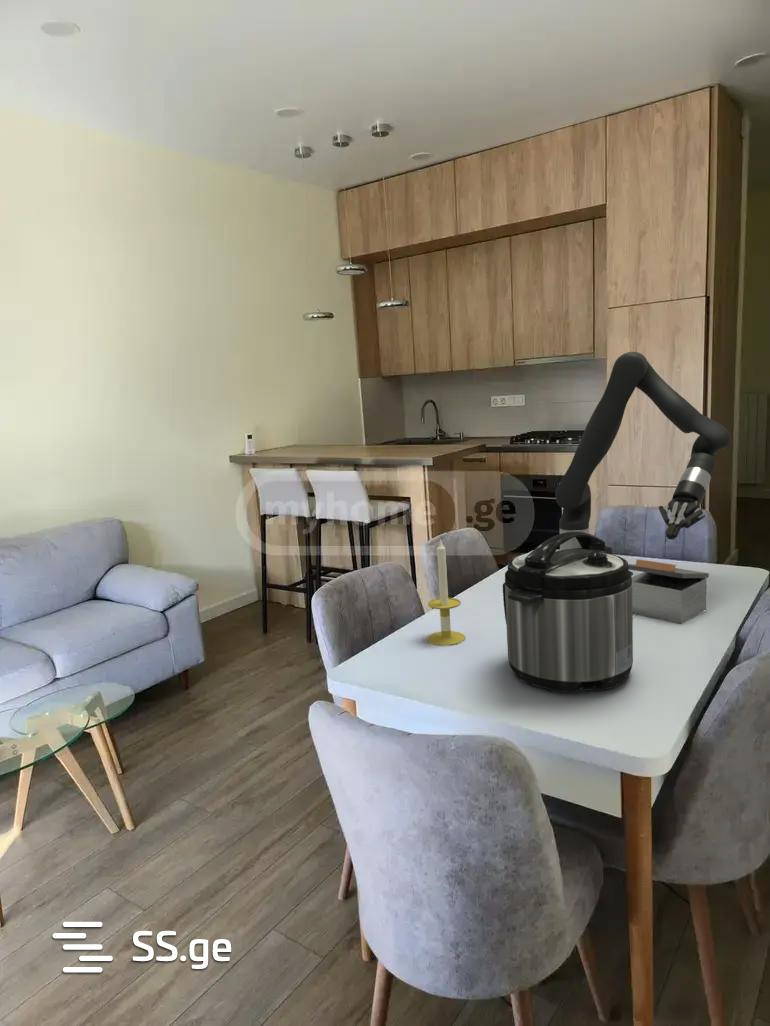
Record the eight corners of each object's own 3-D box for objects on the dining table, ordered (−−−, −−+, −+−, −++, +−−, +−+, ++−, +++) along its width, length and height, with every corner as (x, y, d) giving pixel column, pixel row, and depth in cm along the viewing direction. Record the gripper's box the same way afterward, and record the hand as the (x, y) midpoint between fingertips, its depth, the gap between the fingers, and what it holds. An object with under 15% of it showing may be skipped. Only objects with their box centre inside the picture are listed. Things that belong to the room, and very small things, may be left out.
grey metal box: (624, 611, 186) (624, 580, 185) (650, 599, 195) (650, 569, 194) (681, 623, 174) (681, 590, 173) (706, 610, 183) (706, 578, 181)
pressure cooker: (606, 641, 166) (604, 515, 161) (664, 690, 139) (664, 540, 133) (487, 654, 164) (481, 527, 158) (522, 706, 136) (516, 554, 130)
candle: (449, 648, 169) (443, 544, 164) (419, 640, 176) (412, 540, 171) (473, 636, 176) (468, 536, 171) (443, 629, 183) (437, 532, 178)
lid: (623, 568, 184) (624, 557, 184) (650, 568, 194) (651, 558, 194) (682, 578, 172) (683, 566, 172) (708, 577, 181) (709, 566, 181)
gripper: (664, 477, 191) (642, 527, 186) (711, 480, 181) (689, 533, 176) (673, 493, 196) (652, 542, 190) (720, 496, 185) (698, 548, 180)
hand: (670, 537), depth 183 cm, fingers closed
